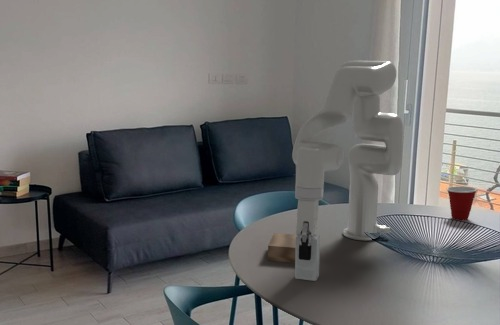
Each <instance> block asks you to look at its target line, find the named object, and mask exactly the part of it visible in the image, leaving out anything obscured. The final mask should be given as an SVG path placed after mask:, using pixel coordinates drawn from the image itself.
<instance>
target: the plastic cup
mask: <svg viewBox="0 0 500 325" xmlns="http://www.w3.org/2000/svg"><path fill="white" fill-rule="evenodd" d="M446 190H447V193H448V196H449V206H450V207H449V208H450V214H451V215H450V216H451V219H453V220H455V219H457V220H456V221H462V220H463V221H468V219H469V217H470V213H471V212H472V206H473V202H474V198H475V195H476V193H477V191H478V189H477V188H476V187H473V186H472V187H471V186H464V185H463V186H461V185H460V186H449V187H447V188H446Z"/></svg>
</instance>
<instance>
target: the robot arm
mask: <svg viewBox="0 0 500 325" xmlns="http://www.w3.org/2000/svg"><path fill="white" fill-rule="evenodd" d="M396 79H397V68H396V66H395V65H394V63H393V62H391V61H389V60H348V61H345V62H343V63H342V64H341V66H340V68H338V69H337V70H336V71H335V72H334V75H333V78H332V81H331V83H330V86H329V90H328V91H327V94H326V97H325V100H324V105H323V107H322V108H321V109H320V110H319V111H317V112H316V113H314V114H313V115H311V116H310V117H309V118H308V119H307V120H306V121H305V122H304V123H303V125H301V127H300V129H299V130H298V133H297V136H296V138H295V142H294V144H293V147H292V148H293V149H292V154H291V155H292V156H291V157H292V161H293V164H295V167H296V168H295V187H294V188H295V192H294V198H295V199H297V200H298V201H297V211H296V222H295V223H296V224H295V235H297V236H298V235H300V233H301V236H300V244H299V259H301V260H311V245H310V243H311V237H313V236H314V235H316V231H317V227H318V217H319V201H322V200H323V199H324V188H325V185H324V184H325V172H333V171H337V170H338V169H340V168H341V167H342V165H343V164H344V160H345V152H344V150H343V148H342V147H341V146H340V145H338V144H335V143H328V142H319V141H313V139H314V138H315V137H316V136H317V135H318V134H320V133H323V132H324V131H327V130H329V129H331V128H334V127H337V126H340V125H343V124H345V123H347V122H348V121H349V120H351V118H352V132H353V136H354V137H355V138H356V139H357V140H360V141H366V142H367V141H368V142H375V143H376V142H377V143H384V144H385V145H381V144H373V143H357V144H354V145H353V146H351V148H349V150H348V154H347V160H348V161H347V162H348V168H349V169H348V170H349V193H348V194H349V197H348V212H347V213H348V214H347V219H348V220H347V227H346V228H344V229H342V231H343V232H342V234H343V236H344V237H346V238H349V239H350V240H354V241H355V240H356V241H362V242H364V241H365V242H366V241H373V240H372V239H370V238H369V237H368V236H367V235H366V234H365V233H364V232H368V233H380V234H381V233H384V234H391V233H390V232H391V227H389V226H388V227H387V225H380V224H378V219H377V218H378V205H379V204H378V203H379V202H378V201H379V199H378V198H379V184H378V181H377V178H376V177H375V176H374V174H375V175H384V176H397V175H398V174H399V173H400V172H401V170H402V164H403V146H404V145H403V143H404V142H403V139H404V125H403V121H402V120H403V119H402V118H401V117H400V115H398V114H395V113H393V112H381V108H380V106H381V105H380V104H381V102H380V101H381V99H380V98H381V97H380V96H381V95H383V94H384V93H385V92H387V91H390V89H392V87H393V86H394V84H395V82H396ZM308 238H309V239H308Z"/></svg>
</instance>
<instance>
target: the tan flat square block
mask: <svg viewBox="0 0 500 325" xmlns="http://www.w3.org/2000/svg"><path fill="white" fill-rule="evenodd" d="M296 236H297V235H296V234H289V233H277V232H276V233H275V232H273V235H272V236H271V239H270V241H269V243H268V245H267V261H269V262H283V263H294V264H295V246H296Z"/></svg>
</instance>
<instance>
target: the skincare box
mask: <svg viewBox="0 0 500 325" xmlns="http://www.w3.org/2000/svg"><path fill="white" fill-rule="evenodd" d="M300 236H301V233H300V235H298V236H296V246H295V263H294V278H295V279H296V280H304V281H311V282H312V281H313V282H317V280H318V278H319V276H320V248H321V247H320V245H321V244H320V241H321V235H320V234H315V235H314V236H313V237H311V243H310V245H311V260H301V259H299V244H300ZM308 239H309V238H308Z"/></svg>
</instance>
